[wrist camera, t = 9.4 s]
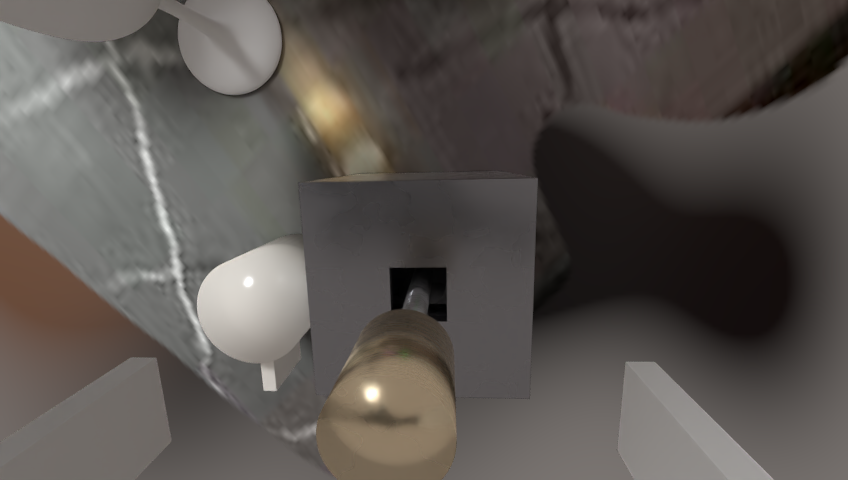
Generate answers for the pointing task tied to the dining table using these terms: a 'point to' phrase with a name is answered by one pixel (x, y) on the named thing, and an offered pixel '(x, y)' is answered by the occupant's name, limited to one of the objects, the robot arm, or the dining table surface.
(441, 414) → the plunger
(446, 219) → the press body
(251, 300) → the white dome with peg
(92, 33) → the wineglass
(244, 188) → the dining table surface
